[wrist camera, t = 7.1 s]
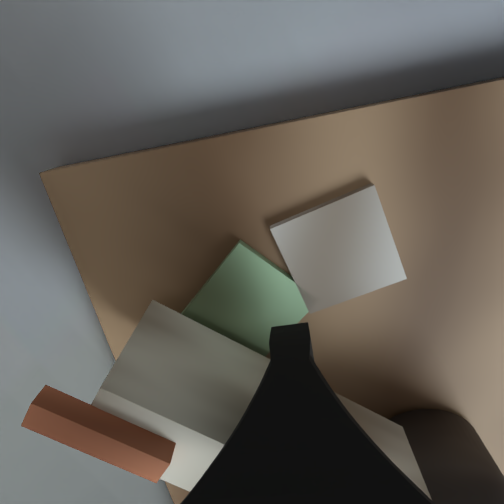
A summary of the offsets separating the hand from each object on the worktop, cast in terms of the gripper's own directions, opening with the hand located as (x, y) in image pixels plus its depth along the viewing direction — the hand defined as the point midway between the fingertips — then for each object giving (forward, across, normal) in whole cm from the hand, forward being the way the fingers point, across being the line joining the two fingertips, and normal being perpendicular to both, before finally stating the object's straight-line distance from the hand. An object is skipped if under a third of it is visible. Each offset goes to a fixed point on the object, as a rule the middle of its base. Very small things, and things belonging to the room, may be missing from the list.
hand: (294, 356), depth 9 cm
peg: (+2, 0, +3) cm, 4 cm away
